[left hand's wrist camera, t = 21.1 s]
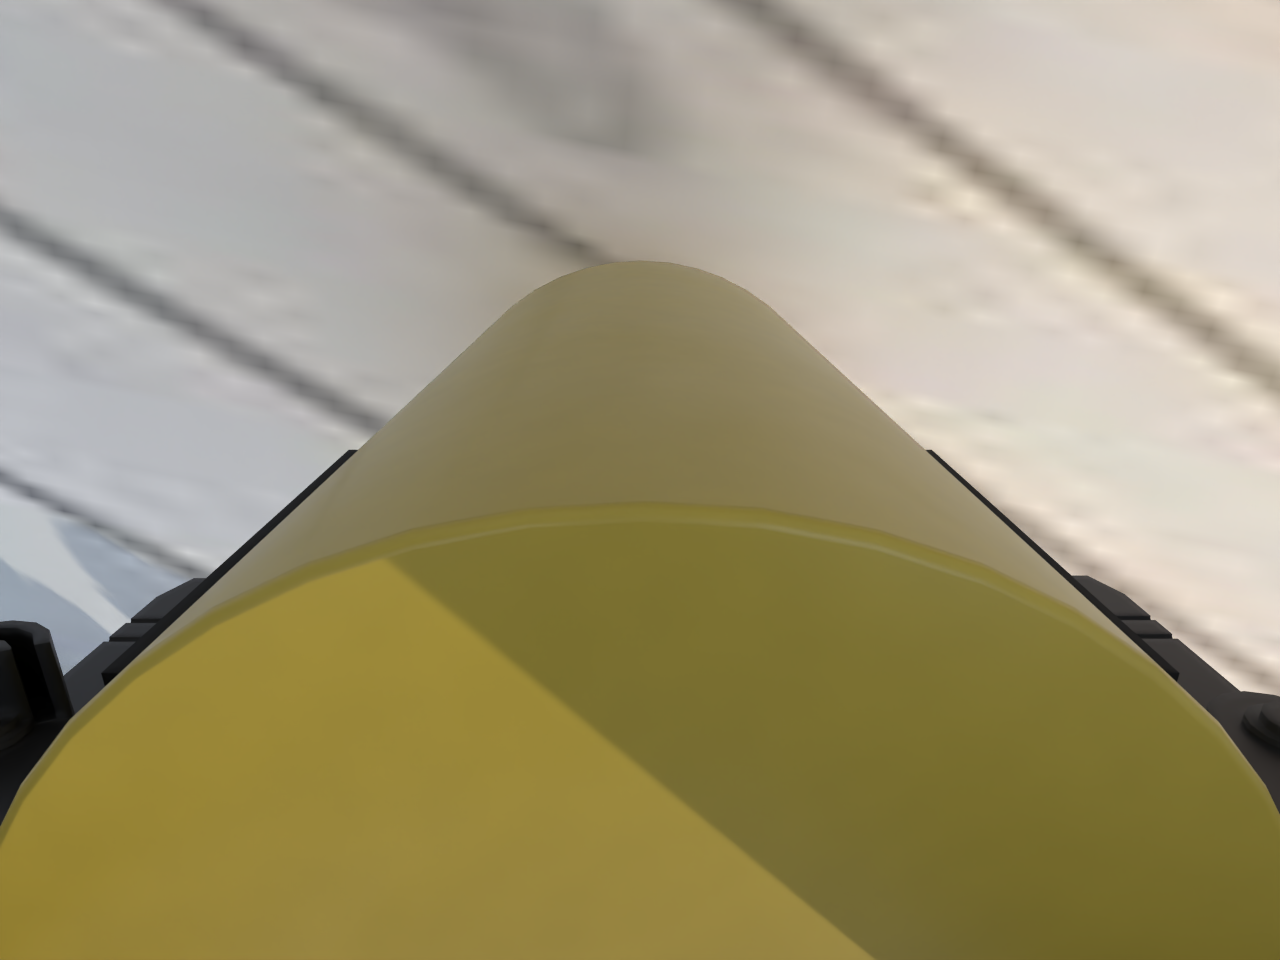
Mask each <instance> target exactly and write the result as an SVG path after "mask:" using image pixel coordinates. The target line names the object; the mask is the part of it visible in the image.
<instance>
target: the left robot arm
mask: <svg viewBox="0 0 1280 960" xmlns="http://www.w3.org/2000/svg"><path fill="white" fill-rule="evenodd" d="M357 451H358V450H348V451H347V452H346V453H345V454H344V455H343V456H342V457H340V458H339V459H338V460H337V461H336V462H335V463H334V464H333V465H332V466H330V467H329V468H328V469H327V470H326V471H325V472H324V473H323V474H322V475H320V476H319V477H318V478H317V479H316V480H315V481H314V482H313V483H312V484H310V485H309V486H308V487H307V488H306V489H305V490H304V491H303V492H302V493H300V494H299V495H298V496H297V497H296V498H295V499H294V500H293V501H292V502H290V503H289V504H288V505H287V506H286V507H285V508H284V509H283V510H282V511H280V512H279V513H278V514H277V515H276V516H275V517H274V518H273V519H272V520H270V521H269V522H268V523H267V524H266V525H265V526H264V527H263V528H262V529H260V530H259V531H258V532H257V533H256V534H255V535H254V536H253V537H252V538H250V539H249V540H248V541H247V542H246V543H245V544H244V545H243V546H242V547H240V548H239V549H238V550H237V551H236V552H235V553H234V554H233V555H232V556H230V557H229V558H228V559H227V560H226V561H225V562H224V563H223V564H222V565H220V566H219V567H218V568H217V569H216V570H215V571H214V572H213V573H212V574H210V575H209V576H208V577H207V578H194V579H192V580H190V581H188V582H186V583H184V584H182V585H180V586H178V587H176V588H174V589H172V590H170V591H168V592H166V593H164V594H162V595H160V596H158V597H156V598H155V599H154V600H153V601H151V602H150V603H149V604H148V605H147V606H146V607H144V608H143V609H142V610H141V611H140V612H138V613H137V614H136V615H135V616H134V617H133V618H131V623H125V624H124V625H123V626H122V627H121V628H120V629H118V630H117V631H116V632H115V633H114V634H112V635H111V636H110V640H109V642H103V643H102V644H101V645H99V646H98V647H97V648H96V649H95V650H94V651H92V652H91V653H90V654H89V655H88V656H86V657H85V658H84V659H83V660H82V661H81V662H79V663H78V664H77V665H76V666H75V667H73V668H72V669H71V670H70V671H69V672H68V673H66V674H65V675H64V676H63V673H62V670H61V667H60V663H59V660H58V657H57V654H56V650H55V647H54V644H53V640H52V637H51V634H50V631H49V630H48V629H47V628H45V627H43V626H41V625H40V624H38V623H35V622H24V621H4V622H0V826H1V824H2V822H3V820H4V818H5V816H6V814H7V812H8V810H9V808H10V806H11V804H12V802H13V800H14V797H15V795H16V793H17V791H18V789H19V787H20V785H21V783H22V782H23V781H24V780H25V778H26V777H27V776H28V774H29V773H30V772H31V770H32V769H33V768H34V766H35V765H36V764H37V762H38V761H39V760H40V758H41V757H42V756H43V754H44V753H45V752H46V750H47V749H48V748H49V746H50V745H51V744H52V742H53V741H54V740H55V738H56V737H57V736H58V734H59V733H60V732H61V730H62V729H63V728H64V726H65V725H66V724H67V722H68V721H69V720H70V719H71V718H72V717H73V716H74V715H75V714H76V713H77V712H78V711H79V710H81V709H82V708H83V707H84V706H85V705H86V704H87V703H88V702H89V701H90V700H91V699H92V698H93V697H94V696H96V695H97V694H98V693H99V692H100V691H101V690H102V689H103V688H104V687H105V686H106V685H107V684H108V683H109V682H111V681H112V680H113V679H114V678H115V677H116V676H117V675H118V674H119V673H120V672H121V671H122V670H123V669H124V668H126V667H127V666H128V665H129V664H130V663H131V662H132V661H133V660H134V659H135V658H136V657H137V656H138V655H139V654H141V653H142V652H143V651H144V650H145V649H146V648H147V647H148V646H149V645H150V644H151V643H152V642H153V641H154V640H156V639H157V638H158V637H159V636H160V635H161V634H162V633H163V632H164V631H165V630H166V629H167V628H168V627H169V626H170V625H172V624H173V623H174V622H175V621H176V620H177V619H178V618H179V617H180V616H181V615H182V614H183V613H184V612H185V611H187V610H188V609H189V608H190V607H191V606H192V605H193V604H194V603H195V602H196V601H197V600H198V599H199V598H200V597H202V596H203V595H204V594H205V593H206V592H207V591H208V590H209V589H210V588H211V587H212V586H213V585H214V584H215V583H217V582H218V581H219V580H220V579H221V578H222V577H223V576H224V575H225V574H226V573H227V572H228V571H229V570H230V569H232V568H233V567H234V566H235V565H236V564H237V563H238V562H239V561H240V560H241V559H242V558H243V557H244V556H245V555H246V554H248V553H249V552H250V551H251V550H252V549H253V548H254V547H255V546H256V545H257V544H258V543H259V542H260V541H261V540H263V539H264V538H265V537H266V536H267V535H268V534H269V533H270V532H271V531H272V530H273V529H274V528H275V527H276V526H278V525H279V524H280V523H281V522H282V521H283V520H284V519H285V518H286V517H287V516H288V515H289V514H290V513H291V512H293V511H294V510H295V509H296V508H297V507H298V506H299V505H300V504H301V503H302V502H303V501H304V500H305V499H306V498H308V497H309V496H310V495H311V494H312V493H313V492H314V491H315V490H316V489H317V488H318V487H319V486H320V485H321V484H323V483H324V482H325V481H326V480H327V479H328V478H329V477H330V476H331V475H332V474H333V473H334V472H335V471H336V470H337V469H339V468H340V467H341V466H342V465H343V464H344V463H345V462H346V461H347V460H348V459H349V458H350V457H351V456H352V455H354V454H355V453H356V452H357ZM926 451H927V452H928V453H929V454H930V455H931V456H932V457H933V458H934V459H936V460H937V461H938V462H939V463H940V464H941V465H942V466H943V467H944V468H945V469H946V470H947V471H949V472H950V473H951V474H952V475H953V476H954V477H955V478H956V479H957V480H958V481H959V482H961V483H962V484H963V485H964V486H965V487H966V488H967V489H968V490H969V491H970V492H971V493H972V494H974V495H975V496H976V497H977V498H978V499H979V500H980V501H981V502H982V503H983V504H984V505H985V506H987V507H988V508H989V509H990V510H991V511H992V512H993V513H994V514H995V515H996V516H997V517H999V518H1000V519H1001V520H1002V521H1003V522H1004V523H1005V524H1006V525H1007V526H1008V527H1009V528H1010V529H1012V530H1013V531H1014V532H1015V533H1016V534H1017V535H1018V536H1019V537H1020V538H1021V539H1022V540H1023V541H1025V542H1026V543H1027V544H1028V545H1029V546H1030V547H1031V548H1032V549H1033V550H1034V551H1035V552H1037V553H1038V554H1039V555H1040V556H1041V557H1042V558H1043V559H1044V560H1045V561H1046V562H1047V563H1048V564H1050V565H1051V566H1052V567H1053V568H1054V569H1055V570H1056V571H1057V572H1058V573H1059V574H1060V575H1061V576H1063V577H1064V578H1065V579H1066V580H1067V581H1068V582H1069V583H1070V584H1071V585H1072V586H1073V587H1074V588H1076V589H1077V590H1078V591H1079V592H1080V593H1081V594H1082V595H1083V596H1084V597H1085V598H1086V599H1088V600H1089V601H1090V602H1091V603H1092V604H1093V605H1094V606H1095V607H1096V608H1097V609H1098V610H1099V611H1101V612H1102V613H1103V614H1104V615H1105V616H1106V617H1107V618H1108V619H1109V620H1110V621H1111V622H1112V623H1114V624H1115V625H1116V626H1117V627H1118V628H1119V629H1120V630H1121V631H1122V632H1123V633H1124V634H1126V635H1127V636H1128V637H1129V638H1130V639H1131V640H1132V641H1133V642H1134V643H1135V644H1136V645H1137V646H1139V647H1140V648H1141V649H1142V650H1143V651H1144V652H1145V653H1146V654H1147V655H1148V656H1149V657H1150V658H1152V659H1153V660H1154V661H1155V662H1156V663H1157V664H1158V665H1159V666H1160V667H1161V668H1162V669H1163V670H1164V671H1165V672H1166V673H1168V674H1169V675H1170V676H1171V677H1172V678H1173V679H1174V680H1175V681H1176V682H1177V683H1178V684H1179V685H1180V686H1181V687H1182V688H1183V689H1184V690H1186V691H1187V692H1188V693H1189V694H1190V695H1191V696H1192V697H1193V698H1194V699H1195V700H1196V701H1197V702H1198V703H1199V704H1200V705H1201V706H1202V707H1204V708H1205V709H1206V710H1207V711H1208V712H1209V713H1210V714H1211V715H1212V716H1213V717H1214V718H1215V719H1216V720H1217V721H1218V722H1219V723H1220V724H1221V726H1222V727H1223V728H1224V730H1225V731H1226V732H1227V734H1228V735H1229V736H1230V738H1231V739H1232V741H1233V742H1234V743H1235V745H1236V746H1237V747H1238V749H1239V750H1240V751H1241V753H1242V754H1243V755H1244V757H1245V758H1246V759H1247V761H1248V762H1249V763H1250V765H1251V766H1252V768H1253V769H1254V770H1255V772H1256V773H1257V774H1258V776H1259V777H1260V778H1261V780H1262V781H1263V782H1264V784H1265V785H1266V787H1267V789H1268V791H1269V793H1270V795H1271V797H1272V799H1273V801H1274V804H1275V806H1276V808H1277V810H1278V812H1279V814H1280V697H1279V696H1276V695H1270V694H1262V693H1254V692H1246V691H1242V692H1240V691H1239V690H1238V689H1237V688H1236V687H1234V686H1233V685H1232V684H1231V683H1230V682H1229V681H1227V680H1226V679H1225V678H1224V677H1223V676H1221V675H1220V674H1219V673H1218V672H1217V671H1215V670H1214V669H1213V668H1212V667H1211V666H1209V665H1208V664H1207V663H1206V662H1205V661H1203V660H1202V659H1201V658H1200V657H1199V656H1198V655H1196V654H1195V653H1194V652H1193V651H1192V650H1190V649H1189V648H1188V647H1187V646H1186V645H1184V644H1183V643H1182V642H1181V641H1180V640H1178V639H1172V634H1171V633H1170V632H1169V631H1168V630H1167V629H1165V628H1164V627H1163V626H1162V625H1161V624H1159V623H1158V622H1157V621H1156V620H1151V619H1150V615H1149V614H1147V613H1146V612H1145V611H1144V610H1143V609H1142V608H1140V607H1139V606H1138V605H1137V604H1136V603H1134V602H1133V601H1132V600H1131V599H1130V598H1128V597H1127V596H1126V595H1125V594H1123V593H1121V592H1119V591H1117V590H1115V589H1113V588H1111V587H1109V586H1107V585H1105V584H1103V583H1101V582H1099V581H1097V580H1095V579H1093V578H1091V577H1089V576H1071V575H1070V574H1069V573H1068V572H1067V571H1066V570H1065V569H1063V568H1062V567H1061V566H1060V565H1059V564H1058V563H1057V562H1056V561H1055V560H1053V559H1052V558H1051V557H1050V556H1049V555H1048V554H1047V553H1046V552H1045V551H1043V550H1042V549H1041V548H1040V547H1039V546H1038V545H1037V544H1036V543H1035V542H1033V541H1032V540H1031V539H1030V538H1029V537H1028V536H1027V535H1026V534H1025V533H1023V532H1022V531H1021V530H1020V529H1019V528H1018V527H1017V526H1016V525H1015V524H1013V523H1012V522H1011V521H1010V520H1009V519H1008V518H1007V517H1006V516H1005V515H1003V514H1002V513H1001V512H1000V511H999V510H998V509H997V508H996V507H995V506H993V505H992V504H991V503H990V502H989V501H988V500H987V499H986V498H985V497H983V496H982V495H981V494H980V493H979V492H978V491H977V490H976V489H975V488H973V487H972V486H971V485H970V484H969V483H968V482H967V481H966V480H965V479H963V478H962V477H961V476H960V475H959V474H958V473H957V472H956V471H955V470H953V469H952V468H951V467H950V466H949V465H948V464H947V463H946V462H945V461H943V460H942V459H941V458H940V457H939V456H938V455H937V454H936V453H935V452H933V451H932V450H926Z"/></svg>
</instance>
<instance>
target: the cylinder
mask: <svg viewBox="0 0 1280 960" xmlns="http://www.w3.org/2000/svg"><path fill="white" fill-rule="evenodd" d="M0 960H1280V814H1279V812H1278V810H1277V808H1276V806H1275V804H1274V801H1273V799H1272V797H1271V795H1270V793H1269V791H1268V789H1267V787H1266V785H1265V784H1264V782H1263V781H1262V780H1261V778H1260V777H1259V776H1258V774H1257V773H1256V772H1255V770H1254V769H1253V768H1252V766H1251V765H1250V763H1249V762H1248V761H1247V759H1246V758H1245V757H1244V755H1243V754H1242V753H1241V751H1240V750H1239V749H1238V747H1237V746H1236V745H1235V743H1234V742H1233V741H1232V739H1231V738H1230V736H1229V735H1228V734H1227V732H1226V731H1225V730H1224V728H1223V727H1222V726H1221V724H1220V723H1219V722H1218V721H1217V720H1216V719H1215V718H1214V717H1213V716H1212V715H1211V714H1210V713H1209V712H1208V711H1207V710H1206V709H1205V708H1204V707H1202V706H1201V705H1200V704H1199V703H1198V702H1197V701H1196V700H1195V699H1194V698H1193V697H1192V696H1191V695H1190V694H1189V693H1188V692H1187V691H1186V690H1184V689H1183V688H1182V687H1181V686H1180V685H1179V684H1178V683H1177V682H1176V681H1175V680H1174V679H1173V678H1172V677H1171V676H1170V675H1169V674H1168V673H1166V672H1165V671H1164V670H1163V669H1162V668H1161V667H1160V666H1159V665H1158V664H1157V663H1156V662H1155V661H1154V660H1153V659H1152V658H1150V657H1149V656H1148V655H1147V654H1146V653H1145V652H1144V651H1143V650H1142V649H1141V648H1140V647H1139V646H1137V645H1136V644H1135V643H1134V642H1133V641H1132V640H1131V639H1130V638H1129V637H1128V636H1127V635H1126V634H1124V633H1123V632H1122V631H1121V630H1120V629H1119V628H1118V627H1117V626H1116V625H1115V624H1114V623H1112V622H1111V621H1110V620H1109V619H1108V618H1107V617H1106V616H1105V615H1104V614H1103V613H1102V612H1101V611H1099V610H1098V609H1097V608H1096V607H1095V606H1094V605H1093V604H1092V603H1091V602H1090V601H1089V600H1088V599H1086V598H1085V597H1084V596H1083V595H1082V594H1081V593H1080V592H1079V591H1078V590H1077V589H1076V588H1074V587H1073V586H1072V585H1071V584H1070V583H1069V582H1068V581H1067V580H1066V579H1065V578H1064V577H1063V576H1061V575H1060V574H1059V573H1058V572H1057V571H1056V570H1055V569H1054V568H1053V567H1052V566H1051V565H1050V564H1048V563H1047V562H1046V561H1045V560H1044V559H1043V558H1042V557H1041V556H1040V555H1039V554H1038V553H1037V552H1035V551H1034V550H1033V549H1032V548H1031V547H1030V546H1029V545H1028V544H1027V543H1026V542H1025V541H1023V540H1022V539H1021V538H1020V537H1019V536H1018V535H1017V534H1016V533H1015V532H1014V531H1013V530H1012V529H1010V528H1009V527H1008V526H1007V525H1006V524H1005V523H1004V522H1003V521H1002V520H1001V519H1000V518H999V517H997V516H996V515H995V514H994V513H993V512H992V511H991V510H990V509H989V508H988V507H987V506H985V505H984V504H983V503H982V502H981V501H980V500H979V499H978V498H977V497H976V496H975V495H974V494H972V493H971V492H970V491H969V490H968V489H967V488H966V487H965V486H964V485H963V484H962V483H961V482H959V481H958V480H957V479H956V478H955V477H954V476H953V475H952V474H951V473H950V472H949V471H947V470H946V469H945V468H944V467H943V466H942V465H941V464H940V463H939V462H938V461H937V460H936V459H934V458H933V457H932V456H931V455H930V454H929V453H928V452H927V451H926V450H925V449H924V448H923V447H921V446H920V445H919V444H918V443H917V442H916V441H915V440H914V439H913V438H912V437H911V436H909V435H908V434H907V433H906V432H905V431H904V430H903V429H902V428H901V427H900V426H899V425H898V424H896V423H895V422H894V421H893V420H892V419H891V418H890V417H889V416H888V415H887V414H886V413H885V412H883V411H882V410H881V409H880V408H879V407H878V406H877V405H876V404H875V403H874V402H873V401H871V400H870V399H869V398H868V397H867V396H866V395H865V394H864V393H863V392H862V391H861V390H860V389H858V388H857V387H856V386H855V385H854V384H853V383H852V382H851V381H850V380H849V379H848V378H847V377H845V376H844V375H843V374H842V373H841V372H840V371H839V370H838V369H837V368H836V367H835V366H833V365H832V364H831V363H830V362H829V361H828V360H827V359H826V358H825V357H824V356H823V355H822V354H820V353H819V352H818V351H817V350H816V349H815V348H814V347H813V346H812V345H811V344H810V343H809V342H807V341H806V340H805V339H804V338H803V337H802V336H801V335H800V334H799V333H798V332H797V331H795V330H794V329H793V328H792V327H791V326H790V325H789V324H788V323H787V322H786V321H785V320H784V319H782V318H781V317H780V316H779V315H778V314H777V313H776V312H775V311H774V310H773V309H772V308H771V307H769V306H768V305H767V304H765V303H764V302H763V301H761V300H760V299H758V298H757V297H755V296H754V295H753V294H751V293H750V292H748V291H747V290H745V289H743V288H741V287H739V286H737V285H736V284H734V283H732V282H730V281H728V280H726V279H724V278H722V277H719V276H716V275H713V274H711V273H708V272H705V271H702V270H699V269H696V268H692V267H687V266H682V265H677V264H673V263H665V262H651V261H631V262H616V263H609V264H604V265H599V266H594V267H589V268H585V269H582V270H579V271H576V272H574V273H571V274H568V275H565V276H562V277H559V278H558V279H556V280H554V281H552V282H550V283H548V284H546V285H544V286H542V287H540V288H538V289H536V290H534V291H533V292H532V293H530V294H529V295H527V296H526V297H524V298H523V299H522V300H520V301H519V302H517V303H516V304H515V305H513V306H512V307H511V308H510V309H509V310H508V311H507V312H506V313H505V314H503V315H502V316H501V317H500V318H499V319H498V320H497V321H496V322H495V323H494V324H493V325H492V326H491V327H490V328H488V329H487V330H486V331H485V332H484V333H483V334H482V335H481V336H480V337H479V338H478V339H477V340H476V341H475V342H473V343H472V344H471V345H470V346H469V347H468V348H467V349H466V350H465V351H464V352H463V353H462V354H461V355H460V356H458V357H457V358H456V359H455V360H454V361H453V362H452V363H451V364H450V365H449V366H448V367H447V368H446V369H445V370H443V371H442V372H441V373H440V374H439V375H438V376H437V377H436V378H435V379H434V380H433V381H432V382H431V383H430V384H428V385H427V386H426V387H425V388H424V389H423V390H422V391H421V392H420V393H419V394H418V395H417V396H416V397H415V398H414V399H412V400H411V401H410V402H409V403H408V404H407V405H406V406H405V407H404V408H403V409H402V410H401V411H400V412H399V413H397V414H396V415H395V416H394V417H393V418H392V419H391V420H390V421H389V422H388V423H387V424H386V425H385V426H384V427H382V428H381V429H380V430H379V431H378V432H377V433H376V434H375V435H374V436H373V437H372V438H371V439H370V440H369V441H367V442H366V443H365V444H364V445H363V446H362V447H361V448H360V449H359V450H358V451H357V452H356V453H355V454H354V455H352V456H351V457H350V458H349V459H348V460H347V461H346V462H345V463H344V464H343V465H342V466H341V467H340V468H339V469H337V470H336V471H335V472H334V473H333V474H332V475H331V476H330V477H329V478H328V479H327V480H326V481H325V482H324V483H323V484H321V485H320V486H319V487H318V488H317V489H316V490H315V491H314V492H313V493H312V494H311V495H310V496H309V497H308V498H306V499H305V500H304V501H303V502H302V503H301V504H300V505H299V506H298V507H297V508H296V509H295V510H294V511H293V512H291V513H290V514H289V515H288V516H287V517H286V518H285V519H284V520H283V521H282V522H281V523H280V524H279V525H278V526H276V527H275V528H274V529H273V530H272V531H271V532H270V533H269V534H268V535H267V536H266V537H265V538H264V539H263V540H261V541H260V542H259V543H258V544H257V545H256V546H255V547H254V548H253V549H252V550H251V551H250V552H249V553H248V554H246V555H245V556H244V557H243V558H242V559H241V560H240V561H239V562H238V563H237V564H236V565H235V566H234V567H233V568H232V569H230V570H229V571H228V572H227V573H226V574H225V575H224V576H223V577H222V578H221V579H220V580H219V581H218V582H217V583H215V584H214V585H213V586H212V587H211V588H210V589H209V590H208V591H207V592H206V593H205V594H204V595H203V596H202V597H200V598H199V599H198V600H197V601H196V602H195V603H194V604H193V605H192V606H191V607H190V608H189V609H188V610H187V611H185V612H184V613H183V614H182V615H181V616H180V617H179V618H178V619H177V620H176V621H175V622H174V623H173V624H172V625H170V626H169V627H168V628H167V629H166V630H165V631H164V632H163V633H162V634H161V635H160V636H159V637H158V638H157V639H156V640H154V641H153V642H152V643H151V644H150V645H149V646H148V647H147V648H146V649H145V650H144V651H143V652H142V653H141V654H139V655H138V656H137V657H136V658H135V659H134V660H133V661H132V662H131V663H130V664H129V665H128V666H127V667H126V668H124V669H123V670H122V671H121V672H120V673H119V674H118V675H117V676H116V677H115V678H114V679H113V680H112V681H111V682H109V683H108V684H107V685H106V686H105V687H104V688H103V689H102V690H101V691H100V692H99V693H98V694H97V695H96V696H94V697H93V698H92V699H91V700H90V701H89V702H88V703H87V704H86V705H85V706H84V707H83V708H82V709H81V710H79V711H78V712H77V713H76V714H75V715H74V716H73V717H72V718H71V719H70V720H69V721H68V722H67V724H66V725H65V726H64V728H63V729H62V730H61V732H60V733H59V734H58V736H57V737H56V738H55V740H54V741H53V742H52V744H51V745H50V746H49V748H48V749H47V750H46V752H45V753H44V754H43V756H42V757H41V758H40V760H39V761H38V762H37V764H36V765H35V766H34V768H33V769H32V770H31V772H30V773H29V774H28V776H27V777H26V778H25V780H24V781H23V782H22V783H21V785H20V787H19V789H18V791H17V793H16V795H15V797H14V800H13V802H12V804H11V806H10V808H9V810H8V812H7V814H6V816H5V818H4V820H3V822H2V824H1V826H0Z"/></svg>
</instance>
